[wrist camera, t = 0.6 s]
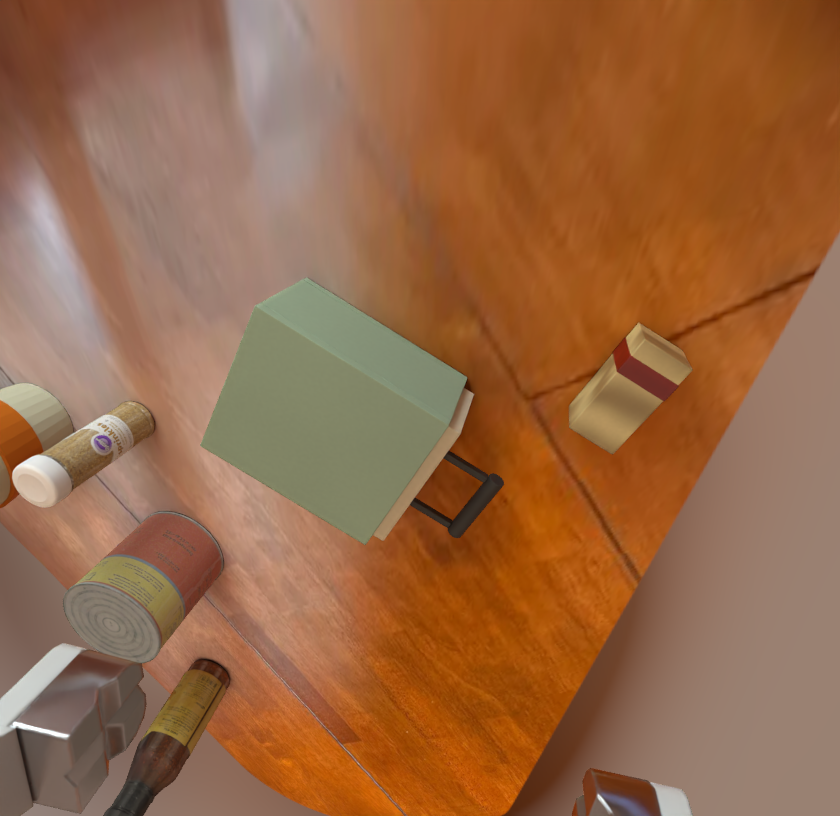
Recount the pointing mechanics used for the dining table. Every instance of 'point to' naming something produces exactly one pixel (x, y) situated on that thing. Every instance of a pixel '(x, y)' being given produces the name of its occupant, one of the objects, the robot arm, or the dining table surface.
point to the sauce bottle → (171, 737)
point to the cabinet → (331, 407)
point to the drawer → (427, 468)
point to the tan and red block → (628, 388)
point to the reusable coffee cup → (27, 430)
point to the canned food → (144, 587)
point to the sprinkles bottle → (82, 455)
